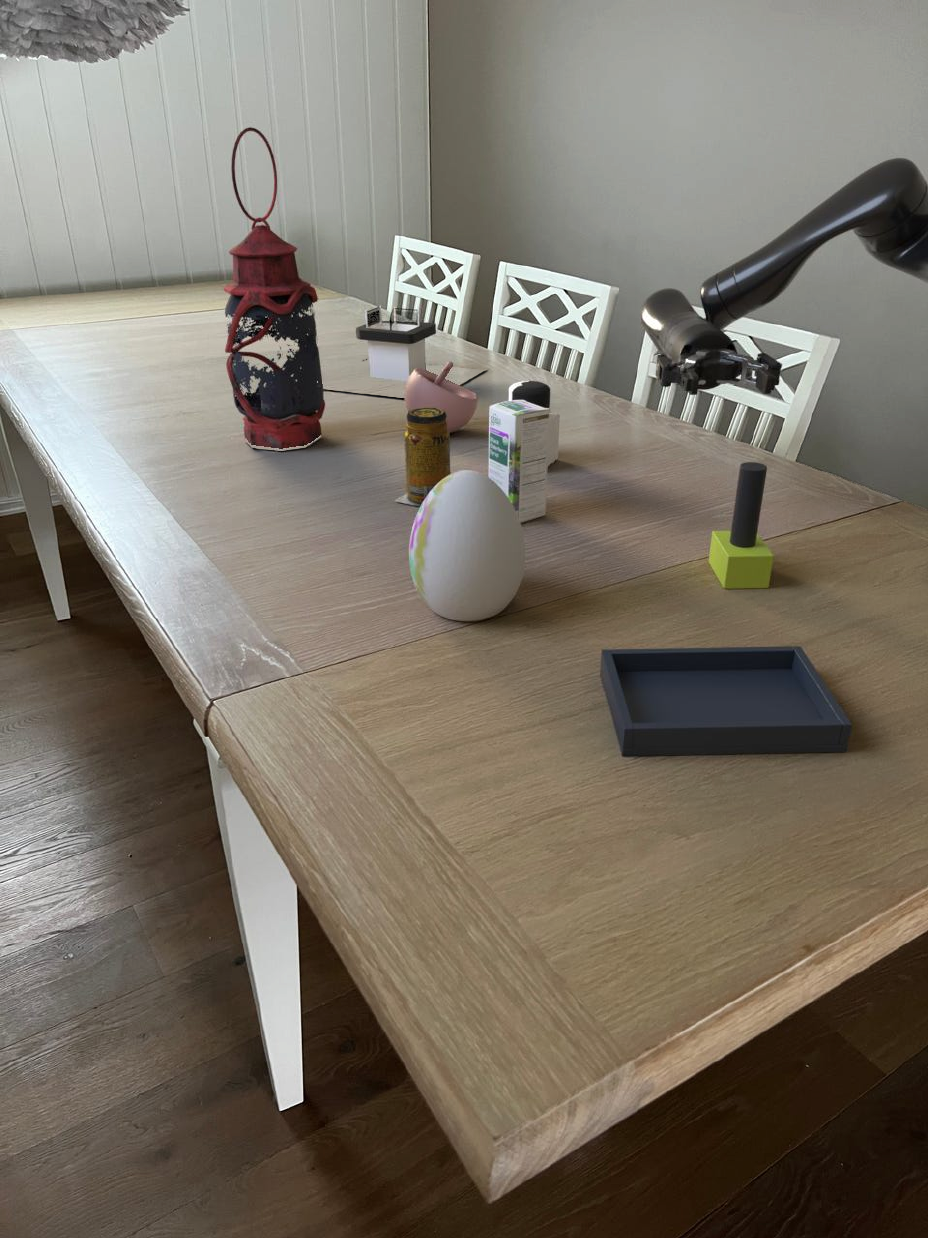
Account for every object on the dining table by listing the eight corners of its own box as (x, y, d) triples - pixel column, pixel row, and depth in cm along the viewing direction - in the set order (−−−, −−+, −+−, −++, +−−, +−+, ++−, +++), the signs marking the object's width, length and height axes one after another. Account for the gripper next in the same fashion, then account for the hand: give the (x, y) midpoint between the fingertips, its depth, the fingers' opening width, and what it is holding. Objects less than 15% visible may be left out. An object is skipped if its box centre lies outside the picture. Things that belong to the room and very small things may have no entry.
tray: (795, 671, 87) (800, 645, 86) (846, 752, 76) (852, 724, 75) (599, 674, 87) (601, 649, 86) (622, 756, 76) (624, 728, 75)
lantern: (300, 459, 142) (267, 127, 120) (217, 450, 146) (171, 128, 124) (343, 429, 155) (320, 125, 133) (266, 422, 159) (232, 126, 137)
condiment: (420, 485, 132) (417, 402, 126) (473, 494, 128) (472, 409, 122) (393, 502, 126) (389, 416, 120) (448, 512, 123) (446, 424, 117)
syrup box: (485, 512, 123) (486, 404, 116) (521, 502, 125) (523, 396, 118) (512, 526, 118) (514, 415, 111) (547, 515, 121) (551, 406, 114)
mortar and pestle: (486, 439, 150) (486, 368, 144) (414, 446, 147) (411, 374, 141) (468, 418, 160) (467, 351, 154) (400, 424, 157) (396, 356, 152)
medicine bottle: (558, 459, 141) (562, 380, 135) (540, 473, 135) (542, 392, 129) (516, 452, 144) (517, 375, 138) (496, 466, 138) (496, 386, 132)
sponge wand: (750, 561, 109) (766, 455, 102) (768, 588, 103) (787, 477, 96) (708, 562, 109) (722, 455, 102) (723, 589, 102) (739, 477, 96)
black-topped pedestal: (488, 370, 189) (488, 302, 183) (432, 403, 168) (430, 327, 162) (368, 358, 199) (364, 293, 193) (301, 387, 179) (295, 316, 172)
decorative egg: (449, 570, 107) (446, 445, 100) (543, 594, 102) (548, 464, 95) (388, 614, 98) (381, 480, 91) (489, 643, 93) (489, 503, 85)
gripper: (647, 323, 119) (674, 353, 104) (757, 322, 119) (799, 352, 105) (642, 381, 122) (667, 418, 108) (749, 380, 122) (788, 417, 108)
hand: (732, 385), depth 106 cm, fingers open, 8 cm apart
